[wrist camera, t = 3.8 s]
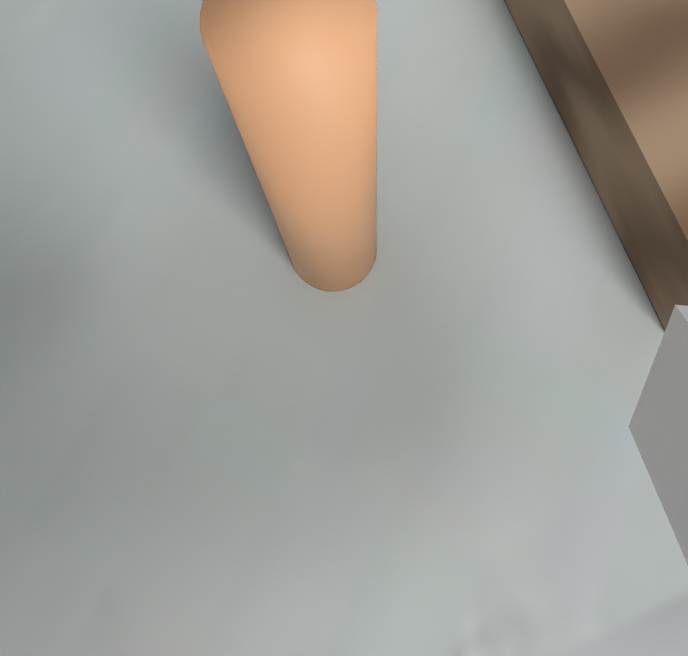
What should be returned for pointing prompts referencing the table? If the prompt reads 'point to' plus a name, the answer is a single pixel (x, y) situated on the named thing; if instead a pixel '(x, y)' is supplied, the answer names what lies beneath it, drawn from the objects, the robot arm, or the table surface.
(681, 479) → the robot arm
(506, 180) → the table surface
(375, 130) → the peg
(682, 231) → the hole block
